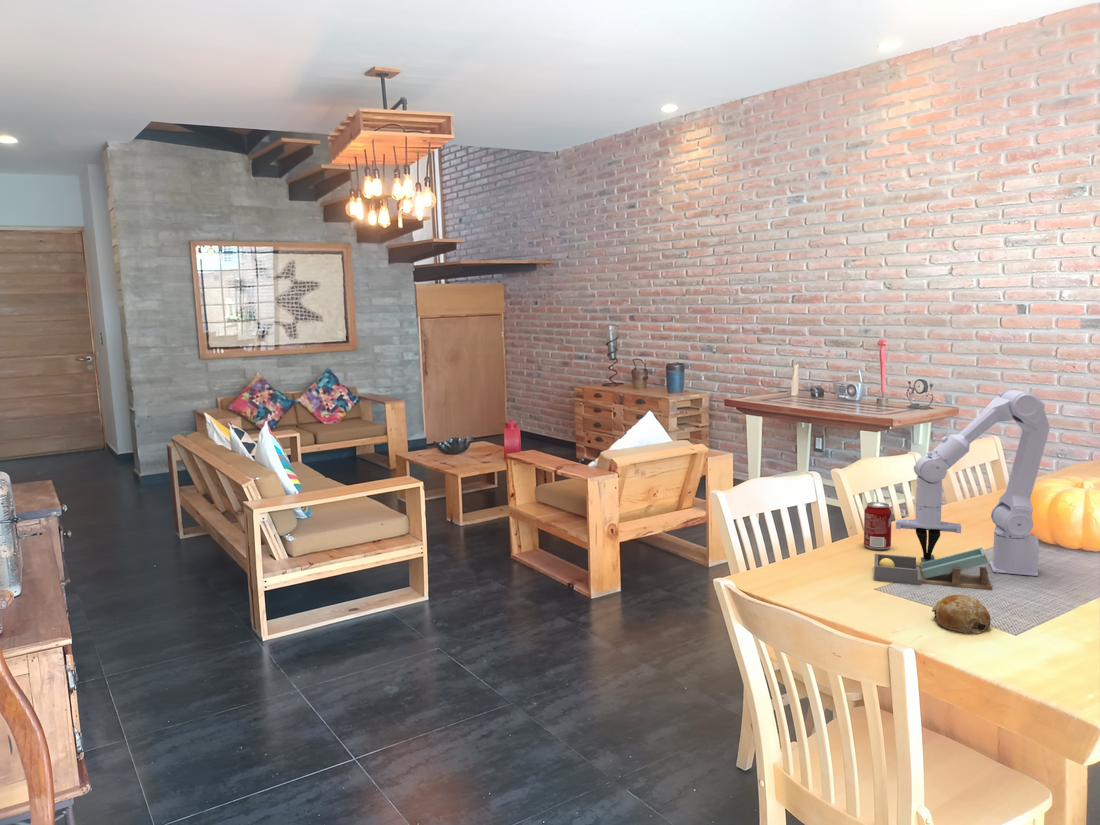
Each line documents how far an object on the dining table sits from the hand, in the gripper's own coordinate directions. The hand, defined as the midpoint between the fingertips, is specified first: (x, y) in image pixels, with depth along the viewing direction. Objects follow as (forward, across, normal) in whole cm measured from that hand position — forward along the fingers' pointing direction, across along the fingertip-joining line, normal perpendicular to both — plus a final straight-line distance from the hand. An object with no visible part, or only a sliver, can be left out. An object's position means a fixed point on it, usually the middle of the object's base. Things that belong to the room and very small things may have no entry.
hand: (926, 558), depth 196 cm
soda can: (+2, +11, -14) cm, 18 cm away
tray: (+2, +7, +9) cm, 12 cm away
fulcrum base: (+2, -6, +9) cm, 11 cm away
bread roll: (+3, -4, +37) cm, 37 cm away
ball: (0, +9, +9) cm, 13 cm away
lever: (-1, -5, +5) cm, 7 cm away
